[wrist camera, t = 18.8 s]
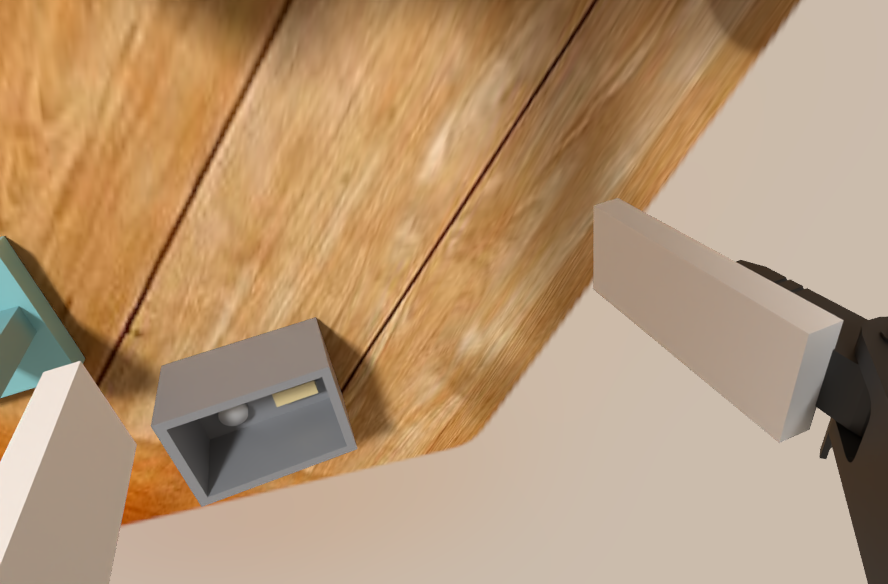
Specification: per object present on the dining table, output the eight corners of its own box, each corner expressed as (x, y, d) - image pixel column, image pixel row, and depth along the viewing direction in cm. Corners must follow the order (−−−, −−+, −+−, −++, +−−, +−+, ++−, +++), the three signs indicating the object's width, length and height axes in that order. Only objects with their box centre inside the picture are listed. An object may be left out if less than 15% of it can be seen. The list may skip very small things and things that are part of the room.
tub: (204, 442, 53) (201, 506, 46) (161, 365, 48) (150, 426, 41) (342, 394, 56) (357, 448, 49) (315, 317, 51) (328, 366, 44)
